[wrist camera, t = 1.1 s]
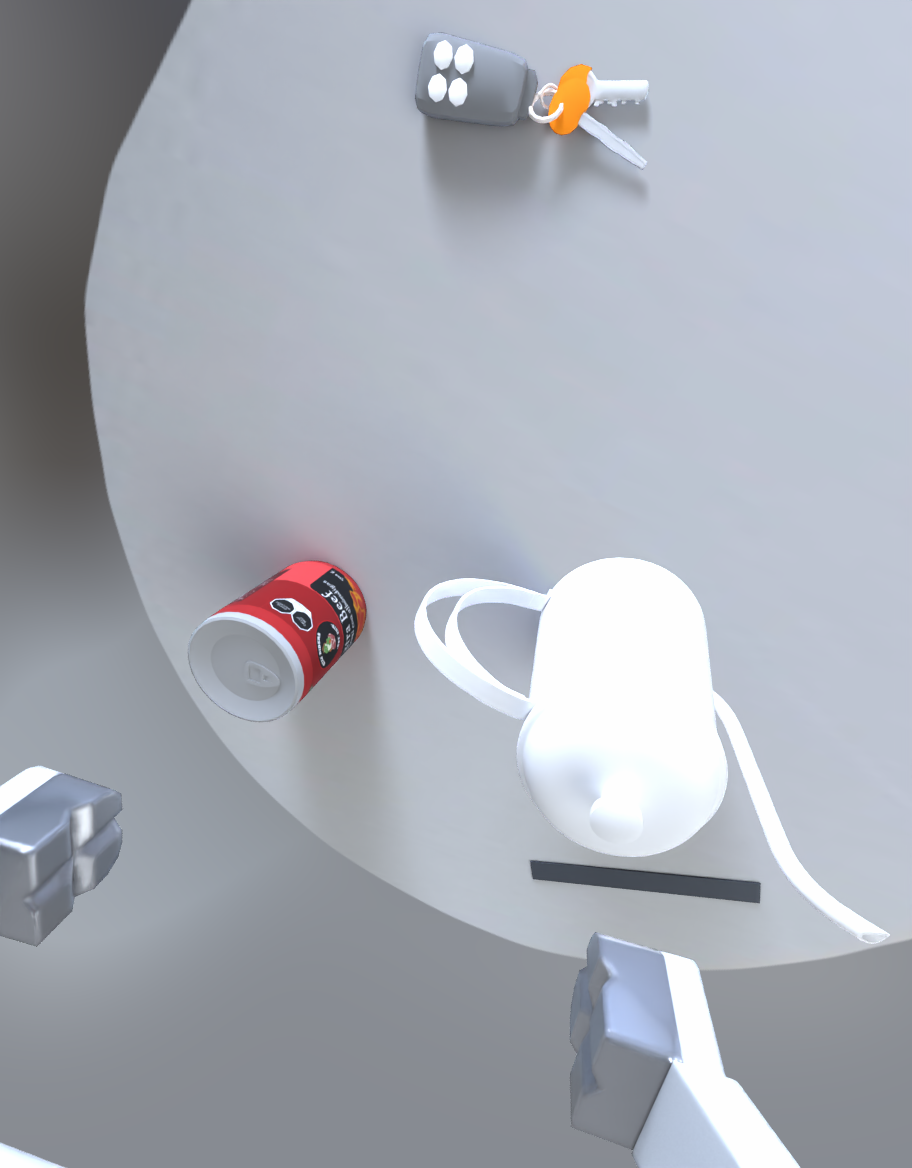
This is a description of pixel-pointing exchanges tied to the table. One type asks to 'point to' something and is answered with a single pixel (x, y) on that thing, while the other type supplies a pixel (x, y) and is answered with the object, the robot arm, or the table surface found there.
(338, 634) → the canned food
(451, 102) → the key chain
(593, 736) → the coffeepot
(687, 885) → the tape line
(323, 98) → the table surface
